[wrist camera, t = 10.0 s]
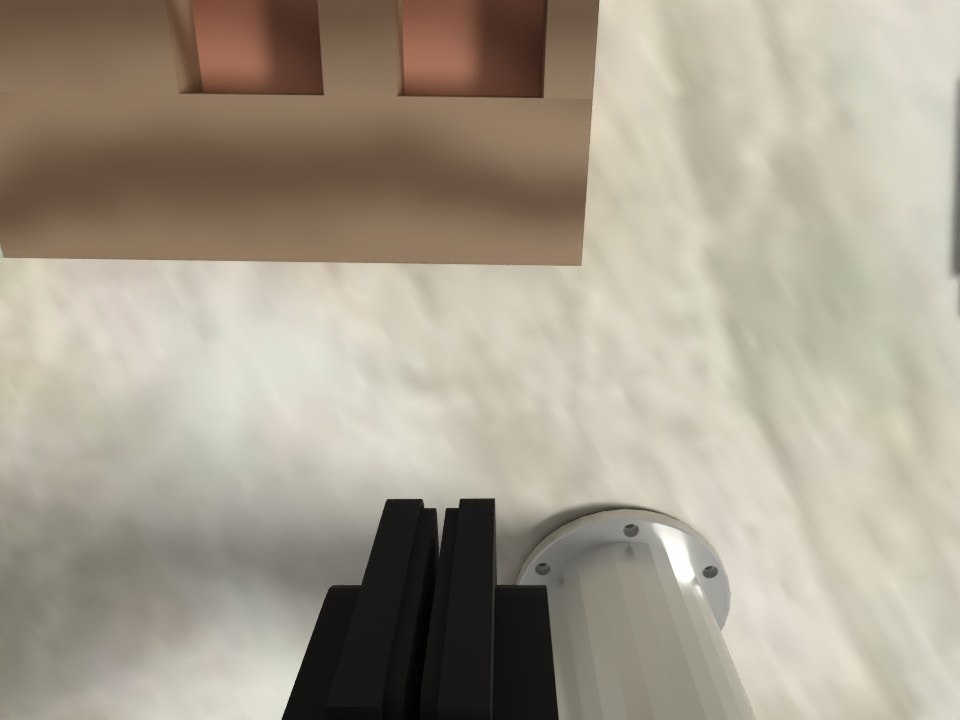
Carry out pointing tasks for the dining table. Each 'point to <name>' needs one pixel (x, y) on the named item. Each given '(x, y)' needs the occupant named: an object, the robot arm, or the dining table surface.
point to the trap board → (296, 130)
